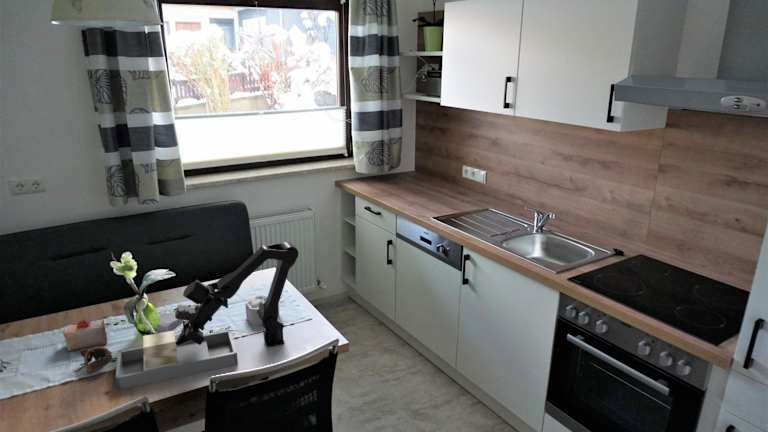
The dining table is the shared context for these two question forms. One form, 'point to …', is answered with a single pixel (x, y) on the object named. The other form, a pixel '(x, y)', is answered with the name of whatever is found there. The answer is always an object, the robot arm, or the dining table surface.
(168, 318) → the stone block
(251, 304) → the lumpy-topped squat cylinder
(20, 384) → the dining table surface
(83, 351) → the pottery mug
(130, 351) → the grey shallow rectangular tray
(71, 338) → the food item
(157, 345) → the birch block
